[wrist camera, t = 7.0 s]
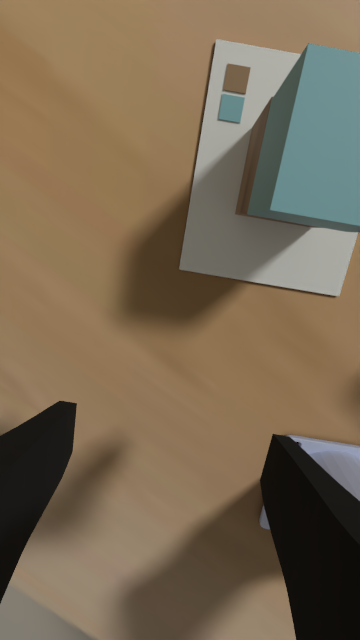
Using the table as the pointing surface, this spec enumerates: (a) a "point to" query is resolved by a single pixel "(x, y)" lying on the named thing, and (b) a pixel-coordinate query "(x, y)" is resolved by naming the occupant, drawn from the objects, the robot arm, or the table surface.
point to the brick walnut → (254, 167)
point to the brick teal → (313, 144)
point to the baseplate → (225, 180)
